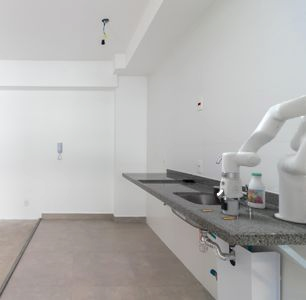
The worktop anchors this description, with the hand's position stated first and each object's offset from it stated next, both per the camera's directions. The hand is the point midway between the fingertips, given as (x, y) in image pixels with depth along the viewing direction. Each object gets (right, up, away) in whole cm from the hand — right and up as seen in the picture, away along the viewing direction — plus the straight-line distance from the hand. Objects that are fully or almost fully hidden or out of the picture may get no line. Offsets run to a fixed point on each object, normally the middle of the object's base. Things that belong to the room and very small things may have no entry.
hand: (230, 209), depth 109 cm
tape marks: (-8, -2, -2) cm, 8 cm away
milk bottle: (+25, -3, +13) cm, 28 cm away
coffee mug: (+8, -3, +21) cm, 23 cm away
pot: (0, -2, 0) cm, 2 cm away
